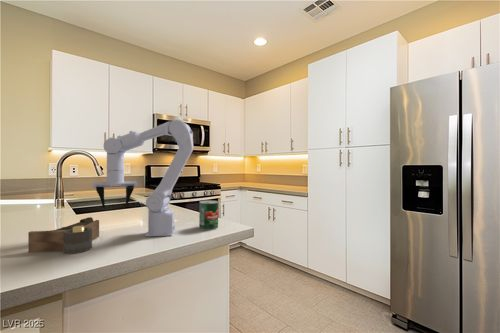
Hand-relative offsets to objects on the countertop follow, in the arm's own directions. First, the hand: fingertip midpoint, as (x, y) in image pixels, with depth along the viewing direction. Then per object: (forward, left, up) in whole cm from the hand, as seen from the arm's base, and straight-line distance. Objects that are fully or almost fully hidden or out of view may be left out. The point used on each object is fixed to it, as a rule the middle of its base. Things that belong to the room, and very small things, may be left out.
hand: (115, 206), depth 91 cm
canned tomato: (-35, -4, -11) cm, 37 cm away
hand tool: (+16, -3, -11) cm, 19 cm away
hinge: (+10, +11, -10) cm, 18 cm away
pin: (+5, +16, -10) cm, 20 cm away
